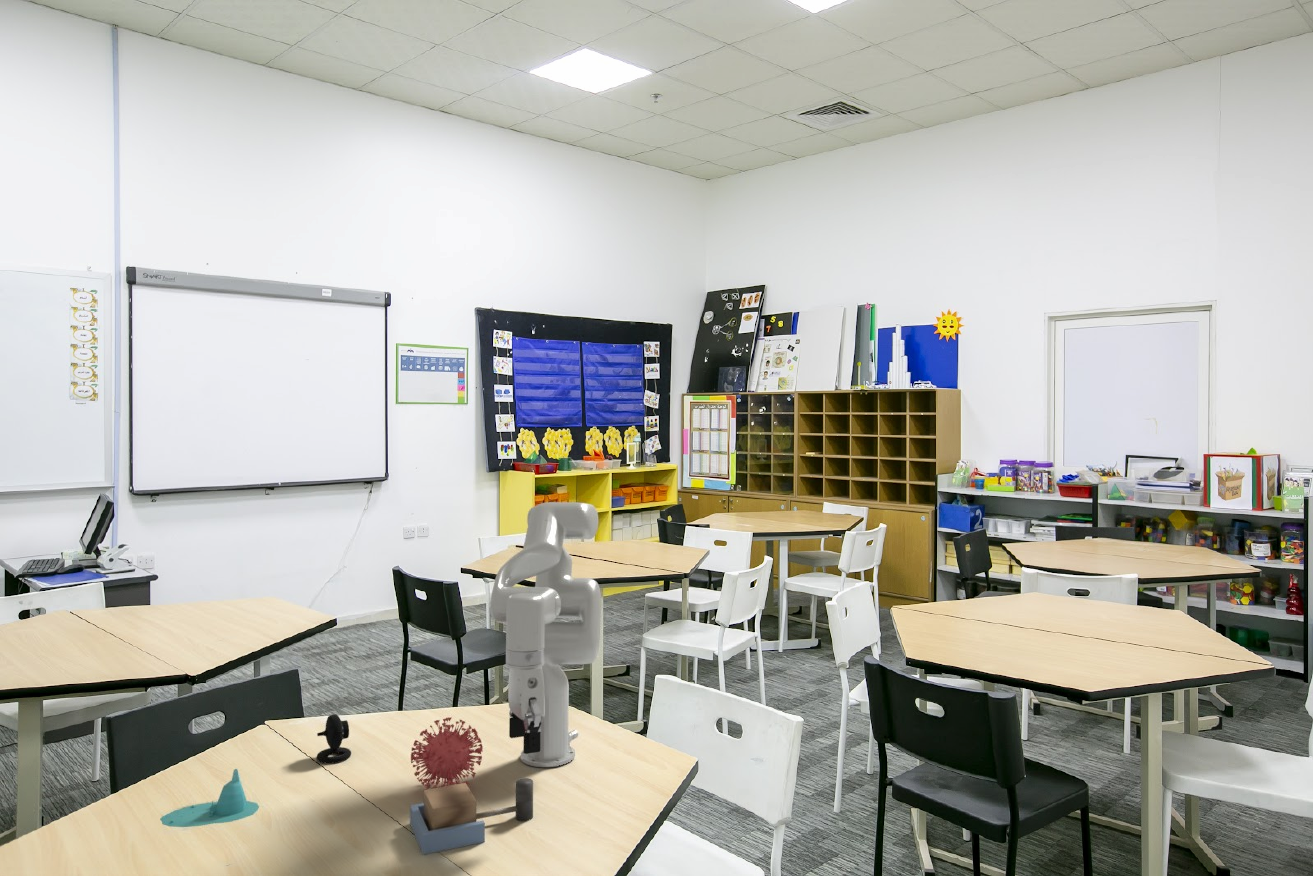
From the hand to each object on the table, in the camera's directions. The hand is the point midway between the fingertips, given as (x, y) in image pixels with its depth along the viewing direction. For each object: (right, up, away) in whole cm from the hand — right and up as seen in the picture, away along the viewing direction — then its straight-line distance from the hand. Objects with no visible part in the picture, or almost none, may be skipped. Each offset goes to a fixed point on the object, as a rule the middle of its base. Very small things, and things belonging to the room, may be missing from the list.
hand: (524, 744), depth 165 cm
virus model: (-19, -15, +13) cm, 27 cm away
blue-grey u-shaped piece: (-13, -15, -6) cm, 20 cm away
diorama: (-63, -15, +2) cm, 65 cm away
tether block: (-8, -15, -3) cm, 17 cm away
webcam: (-49, -14, +30) cm, 60 cm away
